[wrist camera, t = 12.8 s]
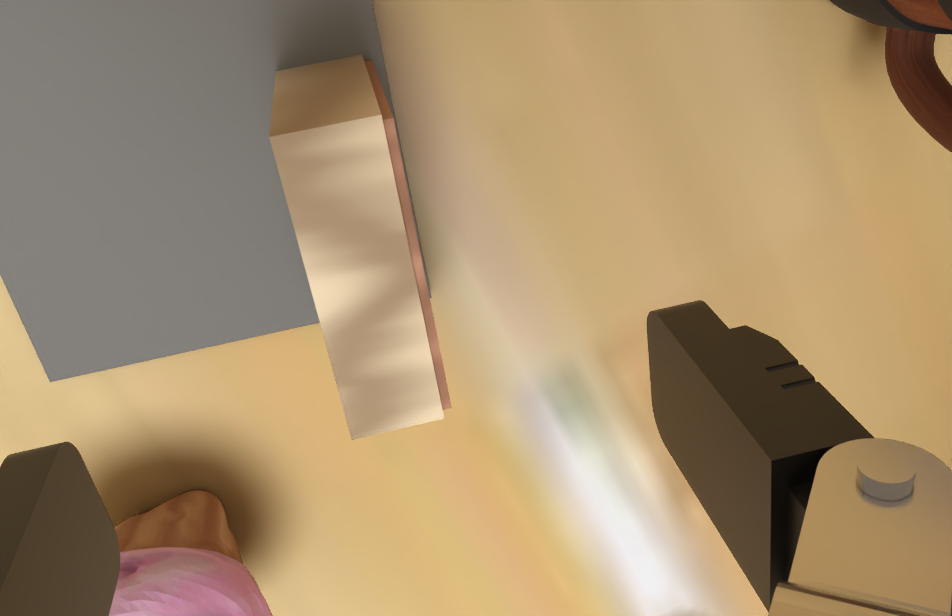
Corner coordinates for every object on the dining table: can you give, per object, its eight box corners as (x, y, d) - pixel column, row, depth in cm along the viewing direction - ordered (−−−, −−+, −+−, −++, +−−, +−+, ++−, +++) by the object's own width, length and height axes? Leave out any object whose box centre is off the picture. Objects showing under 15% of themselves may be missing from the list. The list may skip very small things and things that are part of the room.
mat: (326, -222, 27) (326, -223, 26) (429, 292, 35) (431, 297, 35) (-182, -137, 26) (-191, -137, 25) (53, 375, 34) (50, 382, 34)
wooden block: (392, 112, 23) (453, 416, 28) (370, 52, 30) (422, 304, 35) (268, 137, 23) (351, 439, 28) (275, 71, 30) (340, 322, 35)
